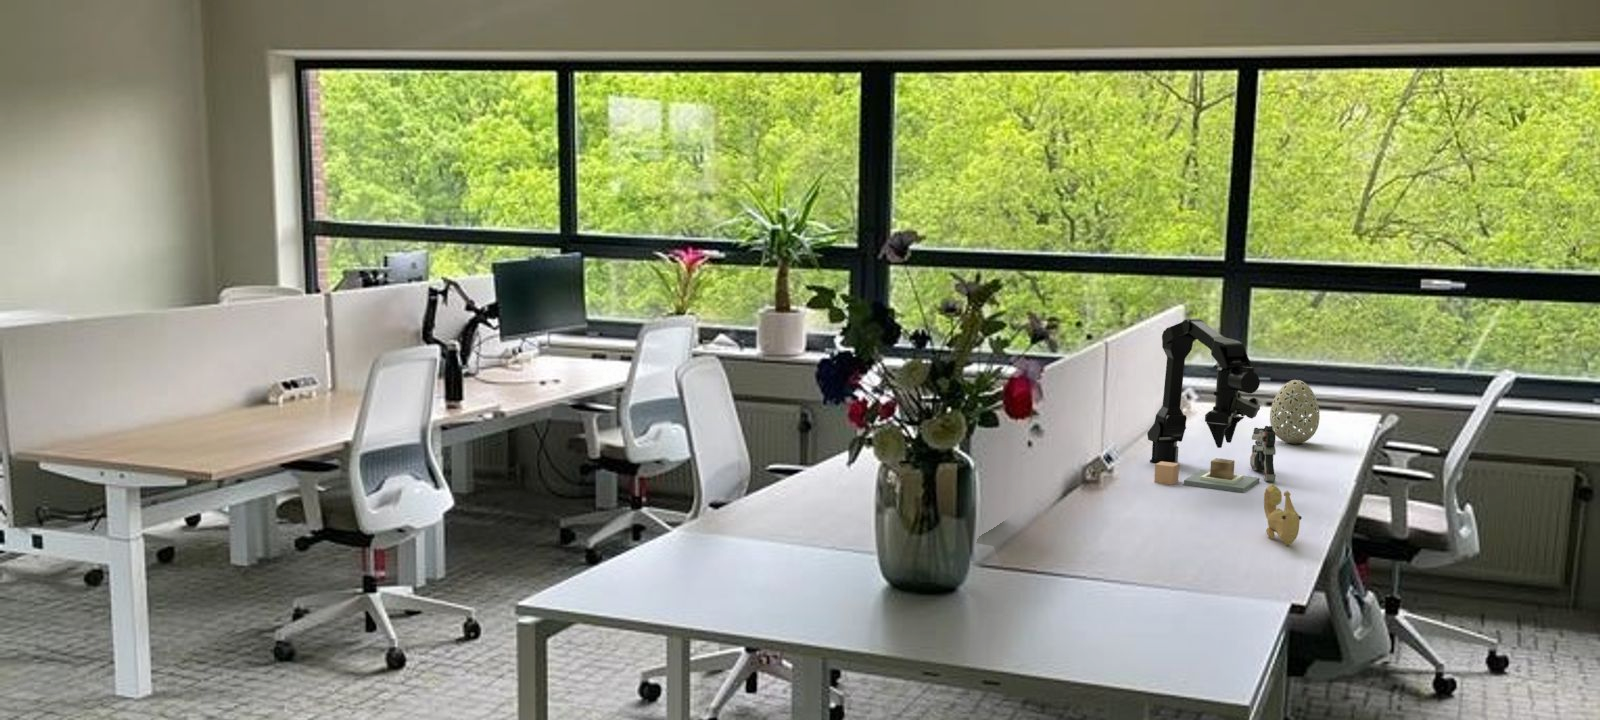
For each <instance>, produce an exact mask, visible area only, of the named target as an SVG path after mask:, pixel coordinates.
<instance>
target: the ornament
mask: <svg viewBox="0 0 1600 720" xmlns="http://www.w3.org/2000/svg"><path fill="white" fill-rule="evenodd" d="M1317 400H1318V399H1317V398H1316V395H1315V393H1314V391H1313V390H1312V388H1311V387H1310V386H1309V384H1307V383H1306V382H1304V381H1303V380H1300V379H1292V380H1289V381H1288V382H1286V383H1285V384H1284V385H1283V386H1282V387H1280V389H1279V390H1278V392H1277V393H1276V394H1275V396H1274V399H1273V401H1272V403H1271V407H1270V413H1269V422H1270V426H1272V429H1273V431H1274V432H1275V437H1277V438H1278V440H1281V441H1283V442H1286V443H1288V444H1293V445H1294V444H1302V443H1305V442H1307V441H1309V440H1310V439H1312V438H1313V436H1314V435H1315V434H1316V432H1317V431H1318V430H1317V429H1318V427H1319V424H1320V407H1319V403H1318V401H1317Z"/></svg>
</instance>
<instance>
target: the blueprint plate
mask: <svg viewBox="0 0 1600 720" xmlns="http://www.w3.org/2000/svg"><path fill="white" fill-rule="evenodd" d="M1258 483H1260V477H1257V476H1249V475H1242V474H1236V473H1234V479H1232V480H1228V479H1220V478H1212V477H1210V470H1202V469H1201V470H1199V471H1197V472H1196V473H1194V474H1192V475H1190V476H1189V477H1188V476H1187V478H1185V479H1183V486H1184V485H1185V486H1192V487H1197V488H1198V487H1200V488H1206V489H1207V488H1208V489H1214V490H1221V491H1230V492H1237V493H1245V492H1247V491H1248V490H1250V489H1251V488H1252V487H1254V486H1255V485H1257V484H1258Z"/></svg>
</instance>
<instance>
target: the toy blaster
mask: <svg viewBox="0 0 1600 720" xmlns="http://www.w3.org/2000/svg"><path fill="white" fill-rule="evenodd" d="M1274 431H1275V430H1274ZM1274 431H1273V429H1272V426H1271V425H1265V426H1264V428H1258V427H1254V429H1253V433H1252V435H1251V440H1252V441H1254V440H1255V441H1254V444H1253V445H1252V446H1251V450H1252V451H1251V455H1250V457H1249V459H1250V460H1249V465H1250V467H1251V469H1252V471H1262V472H1263V471H1264V477H1263V481H1266V482H1267V481H1268V482H1275V481H1276V477H1277V475H1276V473H1275V469H1274V468H1275V467H1274V456H1276V453H1277V452H1276V446H1275V444H1276V435H1275V432H1274Z"/></svg>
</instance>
